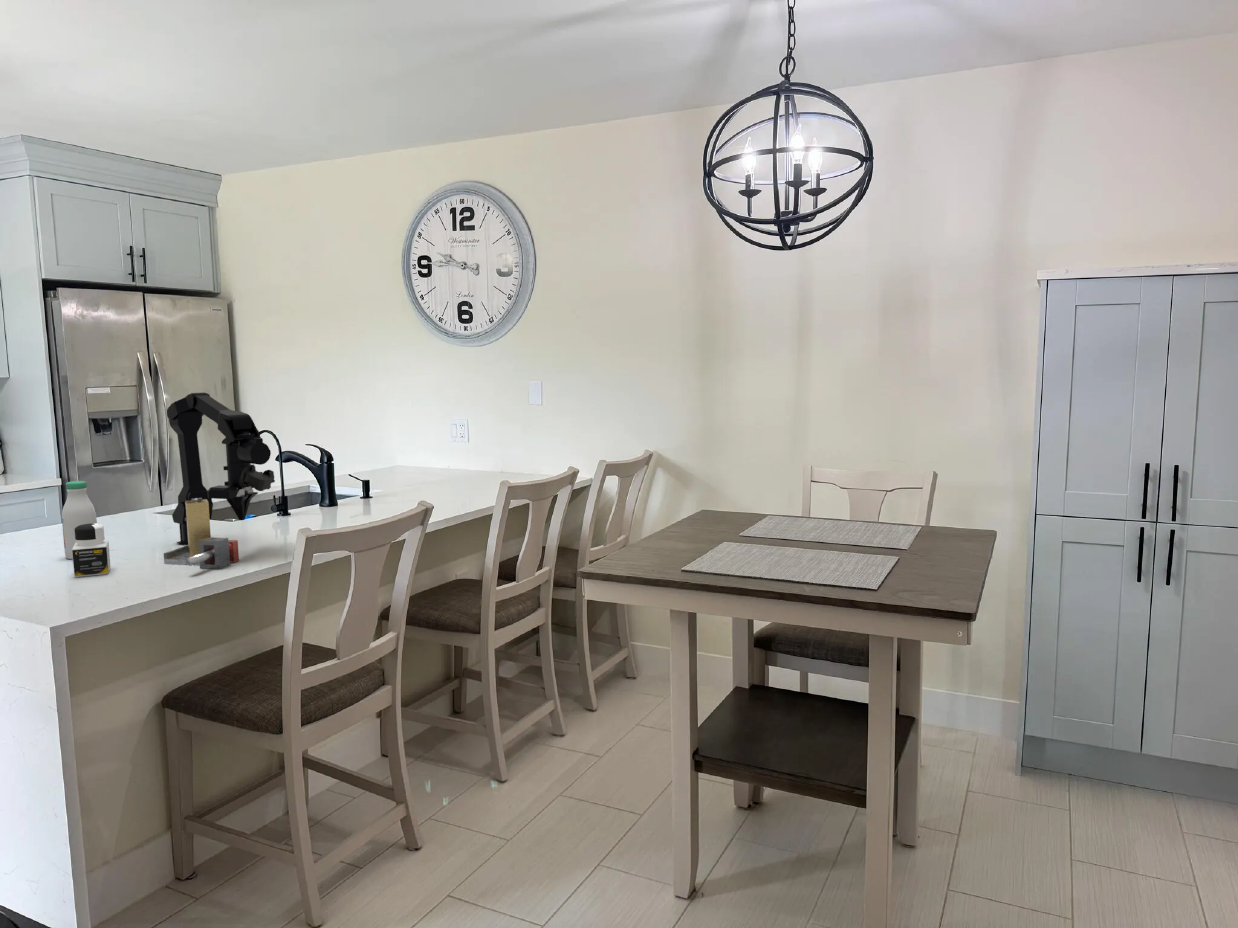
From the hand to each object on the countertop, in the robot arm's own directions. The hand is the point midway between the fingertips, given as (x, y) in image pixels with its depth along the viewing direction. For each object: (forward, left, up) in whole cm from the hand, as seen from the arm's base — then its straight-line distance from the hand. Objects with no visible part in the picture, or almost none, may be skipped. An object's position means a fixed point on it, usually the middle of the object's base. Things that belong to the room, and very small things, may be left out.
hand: (242, 519), depth 226 cm
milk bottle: (-41, -10, -10) cm, 43 cm away
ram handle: (+1, -15, -9) cm, 17 cm away
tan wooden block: (-8, -7, -8) cm, 13 cm away
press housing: (+1, -14, -9) cm, 16 cm away
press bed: (-8, -7, -9) cm, 14 cm away
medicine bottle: (-25, -24, -10) cm, 36 cm away
